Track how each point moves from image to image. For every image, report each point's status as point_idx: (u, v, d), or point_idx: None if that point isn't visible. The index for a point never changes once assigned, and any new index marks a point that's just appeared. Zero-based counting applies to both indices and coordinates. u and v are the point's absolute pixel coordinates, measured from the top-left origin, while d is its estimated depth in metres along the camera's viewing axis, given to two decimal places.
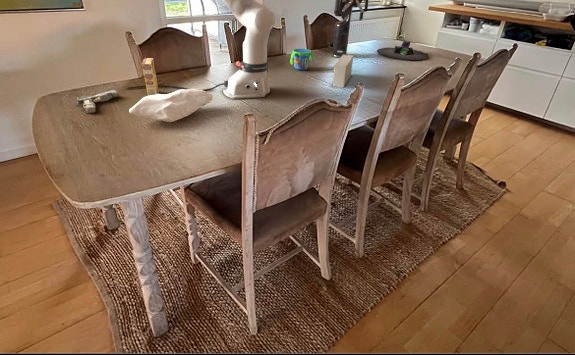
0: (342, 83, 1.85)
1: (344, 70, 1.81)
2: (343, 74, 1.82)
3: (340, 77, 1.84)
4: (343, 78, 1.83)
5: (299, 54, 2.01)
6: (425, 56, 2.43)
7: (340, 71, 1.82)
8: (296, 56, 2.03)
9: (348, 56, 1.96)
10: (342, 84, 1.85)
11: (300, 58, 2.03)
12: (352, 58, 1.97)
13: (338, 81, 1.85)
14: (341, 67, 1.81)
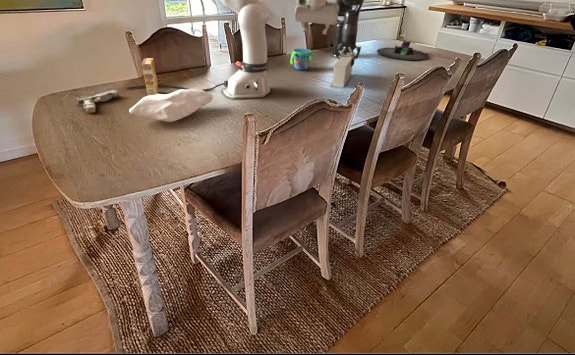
0: (342, 83, 1.85)
1: (344, 70, 1.81)
2: (343, 74, 1.82)
3: (340, 77, 1.84)
4: (343, 78, 1.83)
5: (299, 54, 2.01)
6: (425, 56, 2.43)
7: (340, 71, 1.82)
8: (296, 56, 2.03)
9: (348, 56, 1.96)
10: (342, 84, 1.85)
11: (300, 58, 2.03)
12: None
13: (338, 81, 1.85)
14: (341, 67, 1.81)
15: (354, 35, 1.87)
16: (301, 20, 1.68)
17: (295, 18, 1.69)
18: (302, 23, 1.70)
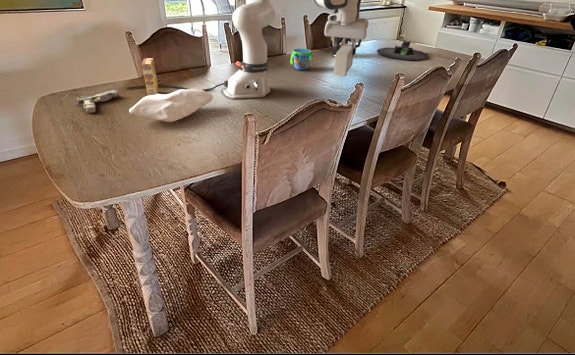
0: (343, 72, 1.82)
1: (346, 58, 1.78)
2: (344, 62, 1.79)
3: (341, 66, 1.81)
4: (344, 67, 1.80)
5: (299, 54, 2.01)
6: (425, 56, 2.43)
7: (341, 59, 1.79)
8: (296, 56, 2.03)
9: (349, 45, 1.93)
10: (343, 73, 1.82)
11: (300, 58, 2.03)
12: None
13: (339, 70, 1.82)
14: (342, 55, 1.78)
15: None
16: (331, 35, 1.77)
17: (325, 33, 1.77)
18: (332, 38, 1.78)
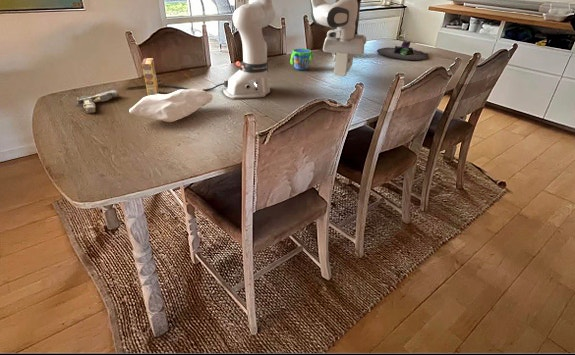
0: (344, 72, 1.82)
1: (346, 58, 1.78)
2: (345, 63, 1.80)
3: (342, 66, 1.81)
4: (345, 67, 1.81)
5: (299, 54, 2.01)
6: (425, 56, 2.43)
7: (342, 60, 1.79)
8: (296, 56, 2.03)
9: None
10: (344, 73, 1.82)
11: (300, 58, 2.03)
12: None
13: (339, 70, 1.82)
14: (343, 55, 1.78)
15: (356, 23, 1.84)
16: (330, 51, 1.80)
17: (324, 49, 1.80)
18: (333, 54, 1.81)
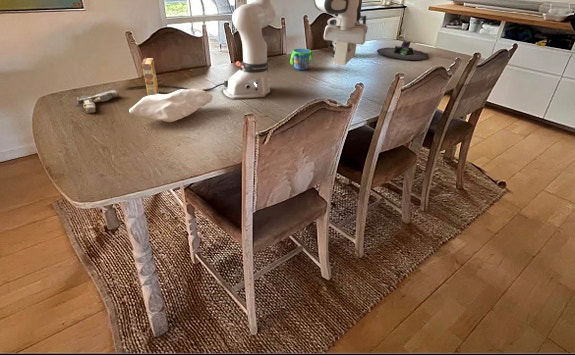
0: (343, 61, 1.79)
1: (346, 47, 1.76)
2: (344, 51, 1.77)
3: (341, 55, 1.78)
4: (344, 56, 1.78)
5: (299, 54, 2.01)
6: (425, 56, 2.43)
7: (341, 48, 1.77)
8: (296, 56, 2.03)
9: None
10: (343, 62, 1.80)
11: (300, 58, 2.03)
12: None
13: (339, 59, 1.80)
14: (343, 44, 1.75)
15: (359, 4, 1.82)
16: (330, 39, 1.78)
17: (325, 37, 1.78)
18: (333, 42, 1.79)
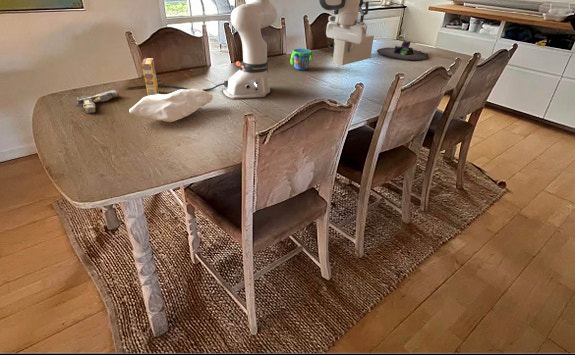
0: (341, 60, 1.69)
1: (343, 46, 1.65)
2: (342, 50, 1.67)
3: (339, 53, 1.68)
4: (342, 55, 1.68)
5: (299, 54, 2.01)
6: (425, 56, 2.43)
7: (339, 47, 1.67)
8: (296, 56, 2.03)
9: (366, 35, 1.77)
10: (341, 62, 1.69)
11: (300, 58, 2.03)
12: (370, 38, 1.76)
13: (337, 58, 1.70)
14: (340, 42, 1.66)
15: None
16: (332, 36, 1.70)
17: (327, 34, 1.71)
18: None
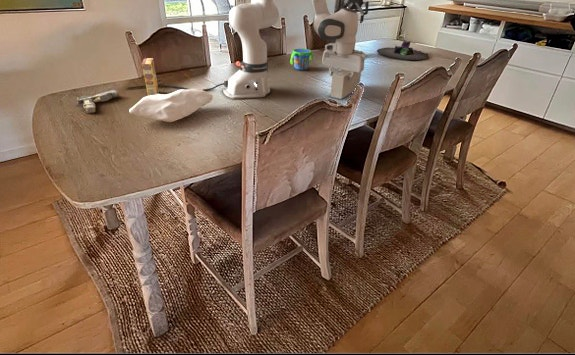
0: (340, 94, 1.70)
1: (342, 81, 1.67)
2: (341, 85, 1.68)
3: (338, 88, 1.69)
4: (341, 89, 1.69)
5: (299, 54, 2.01)
6: (425, 56, 2.43)
7: (338, 81, 1.68)
8: (296, 56, 2.03)
9: None
10: (340, 96, 1.71)
11: (300, 58, 2.03)
12: None
13: (336, 92, 1.71)
14: (339, 77, 1.67)
15: None
16: (328, 64, 1.70)
17: (323, 62, 1.71)
18: (329, 67, 1.71)
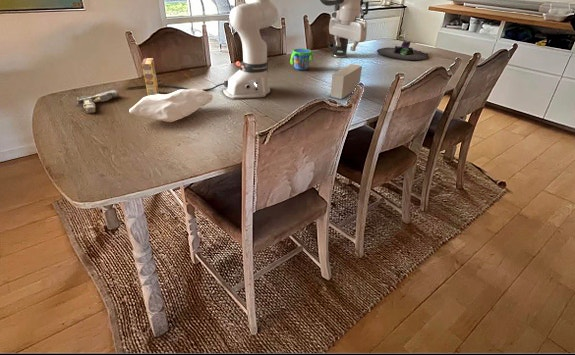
0: (340, 94, 1.70)
1: (342, 81, 1.67)
2: (341, 85, 1.68)
3: (338, 88, 1.69)
4: (341, 89, 1.69)
5: (299, 54, 2.01)
6: (425, 56, 2.43)
7: (338, 81, 1.68)
8: (296, 56, 2.03)
9: (355, 66, 1.81)
10: (340, 96, 1.71)
11: (300, 58, 2.03)
12: (360, 68, 1.80)
13: (336, 92, 1.71)
14: (339, 77, 1.67)
15: None
16: (334, 33, 1.64)
17: (329, 31, 1.66)
18: (335, 37, 1.65)
